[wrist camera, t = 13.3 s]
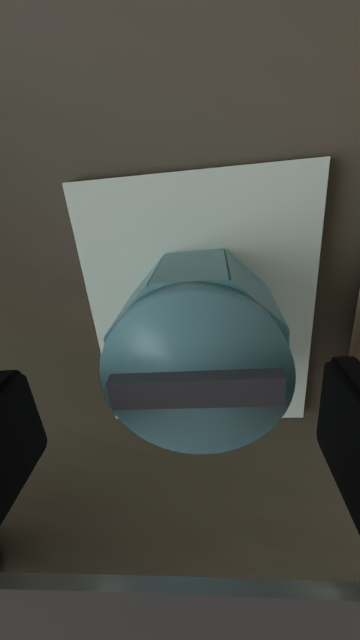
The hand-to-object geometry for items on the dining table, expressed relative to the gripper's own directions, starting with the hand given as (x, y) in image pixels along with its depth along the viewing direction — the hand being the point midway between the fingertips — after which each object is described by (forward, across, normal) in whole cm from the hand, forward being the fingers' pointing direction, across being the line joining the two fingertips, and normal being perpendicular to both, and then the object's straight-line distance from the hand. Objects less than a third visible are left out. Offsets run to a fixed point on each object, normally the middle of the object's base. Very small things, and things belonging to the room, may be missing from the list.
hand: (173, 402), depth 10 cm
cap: (+5, -1, -1) cm, 5 cm away
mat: (+6, -1, -1) cm, 6 cm away
